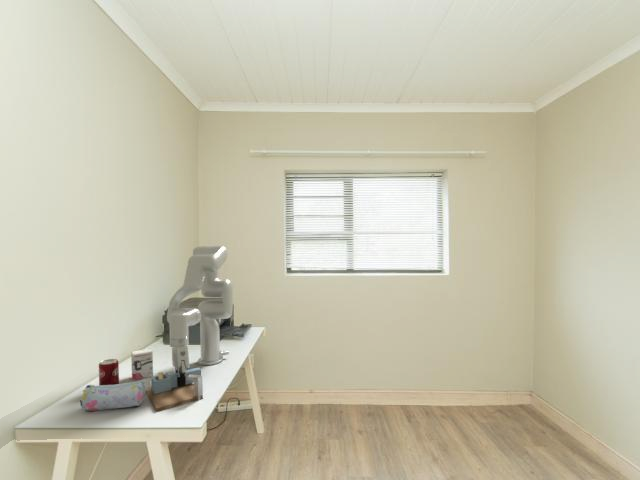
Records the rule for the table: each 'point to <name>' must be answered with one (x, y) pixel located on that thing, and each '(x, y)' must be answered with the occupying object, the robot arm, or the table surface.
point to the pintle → (160, 375)
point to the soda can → (109, 372)
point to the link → (171, 380)
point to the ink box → (142, 363)
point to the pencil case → (112, 396)
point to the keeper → (197, 385)
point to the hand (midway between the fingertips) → (180, 383)
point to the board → (172, 397)
